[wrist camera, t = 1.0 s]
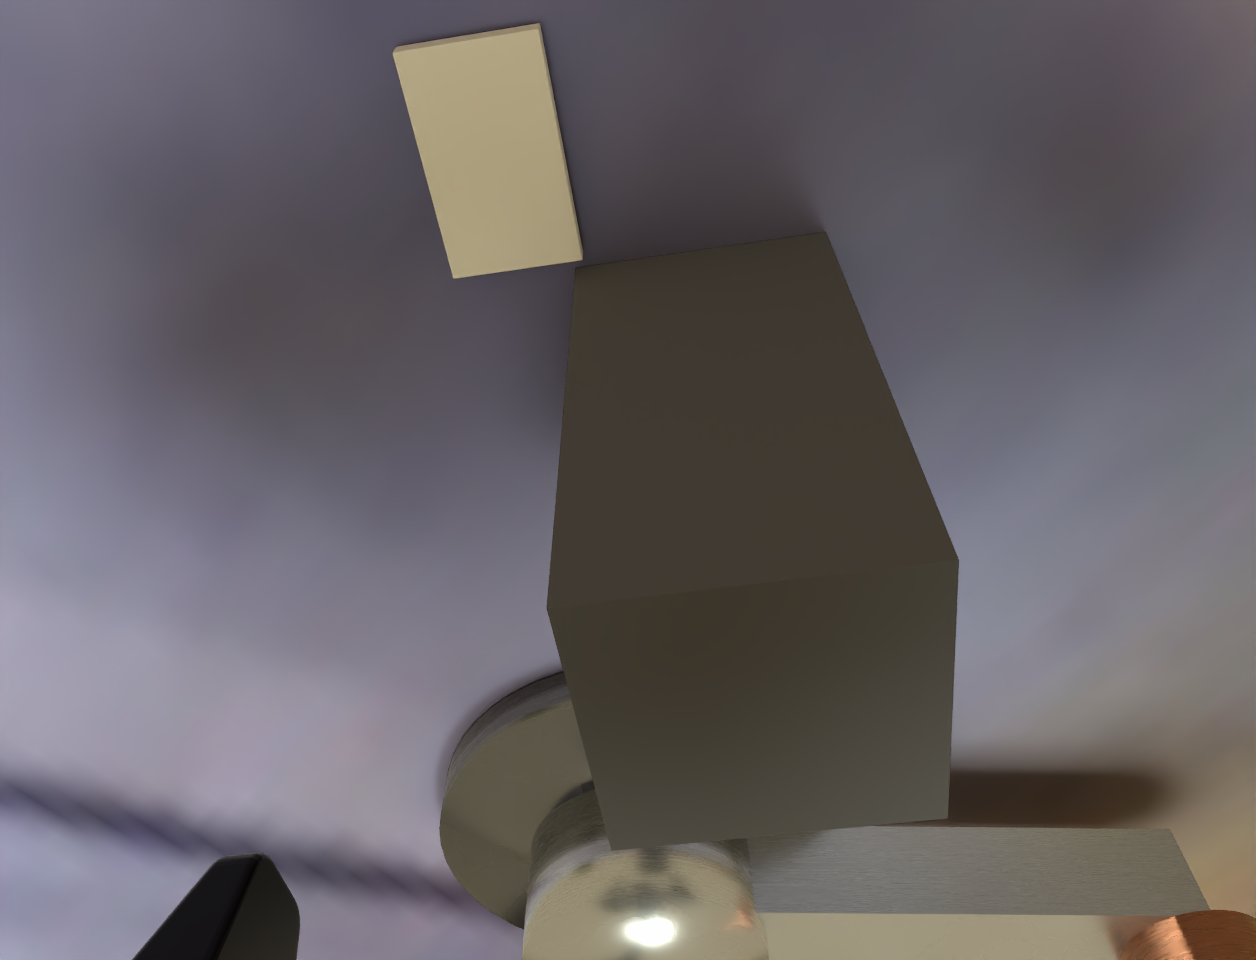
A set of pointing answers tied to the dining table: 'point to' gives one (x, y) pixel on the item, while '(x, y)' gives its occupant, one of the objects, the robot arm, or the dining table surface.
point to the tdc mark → (491, 149)
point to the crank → (871, 896)
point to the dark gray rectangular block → (746, 555)
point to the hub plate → (510, 791)
